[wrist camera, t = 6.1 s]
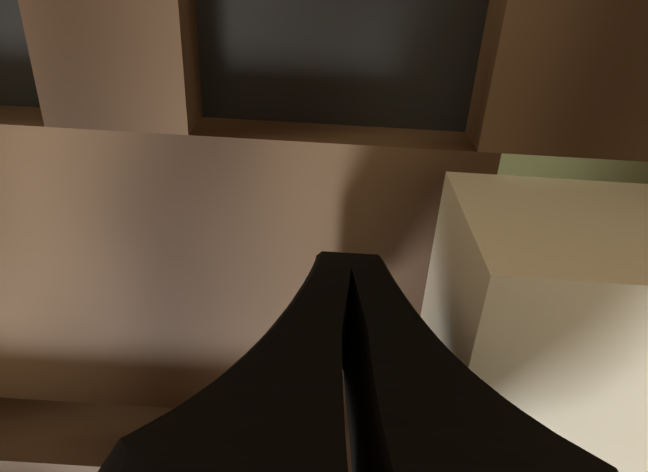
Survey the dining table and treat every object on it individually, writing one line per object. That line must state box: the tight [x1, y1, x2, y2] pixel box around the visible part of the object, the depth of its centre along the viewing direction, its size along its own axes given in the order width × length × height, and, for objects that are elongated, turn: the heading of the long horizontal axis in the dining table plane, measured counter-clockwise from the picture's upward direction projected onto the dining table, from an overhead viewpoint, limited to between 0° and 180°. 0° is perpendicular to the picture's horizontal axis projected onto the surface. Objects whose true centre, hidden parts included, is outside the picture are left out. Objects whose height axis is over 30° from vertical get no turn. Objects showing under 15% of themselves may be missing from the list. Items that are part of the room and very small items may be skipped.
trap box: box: [0, 0, 648, 472], centre depth 12 cm, size 24×13×4 cm, turn 87°
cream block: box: [421, 171, 648, 472], centre depth 11 cm, size 5×5×4 cm
